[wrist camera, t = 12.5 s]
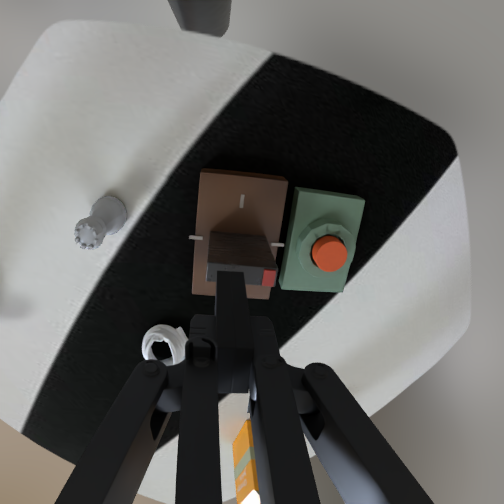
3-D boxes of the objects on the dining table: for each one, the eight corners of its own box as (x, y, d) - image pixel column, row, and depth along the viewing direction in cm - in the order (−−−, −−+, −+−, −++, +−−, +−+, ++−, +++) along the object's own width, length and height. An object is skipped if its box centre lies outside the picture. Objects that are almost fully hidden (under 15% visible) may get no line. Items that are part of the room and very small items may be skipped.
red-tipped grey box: (208, 246, 35) (205, 282, 27) (210, 230, 34) (207, 263, 27) (263, 251, 36) (275, 288, 28) (266, 235, 35) (278, 269, 27)
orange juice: (286, 423, 53) (307, 518, 34) (269, 448, 56) (283, 534, 37) (245, 419, 51) (257, 520, 33) (231, 444, 54) (238, 535, 36)
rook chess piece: (124, 192, 35) (100, 211, 27) (131, 228, 36) (111, 256, 29) (89, 198, 34) (60, 218, 27) (97, 233, 36) (72, 261, 29)
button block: (294, 186, 36) (303, 194, 33) (358, 195, 37) (372, 204, 34) (278, 280, 41) (284, 297, 37) (337, 284, 42) (347, 300, 38)
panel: (196, 167, 34) (194, 171, 31) (288, 176, 36) (294, 182, 33) (188, 281, 40) (186, 294, 37) (270, 287, 41) (274, 300, 38)
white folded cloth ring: (162, 363, 46) (158, 388, 41) (130, 336, 43) (124, 361, 38) (203, 343, 44) (202, 369, 40) (172, 313, 41) (167, 339, 37)
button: (315, 233, 35) (319, 239, 33) (345, 237, 35) (350, 242, 34) (308, 264, 36) (312, 271, 35) (338, 266, 37) (343, 273, 35)
